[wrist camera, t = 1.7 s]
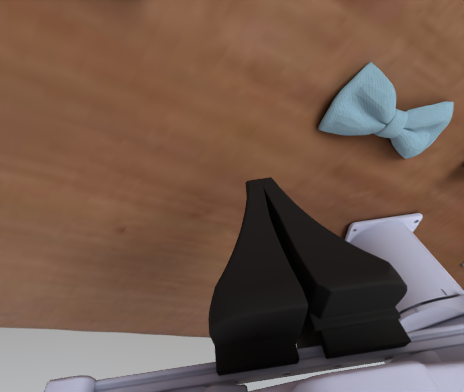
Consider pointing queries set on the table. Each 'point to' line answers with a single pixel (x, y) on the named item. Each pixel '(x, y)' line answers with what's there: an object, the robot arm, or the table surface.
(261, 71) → the table surface
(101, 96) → the table surface
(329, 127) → the bow tie
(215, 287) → the robot arm
